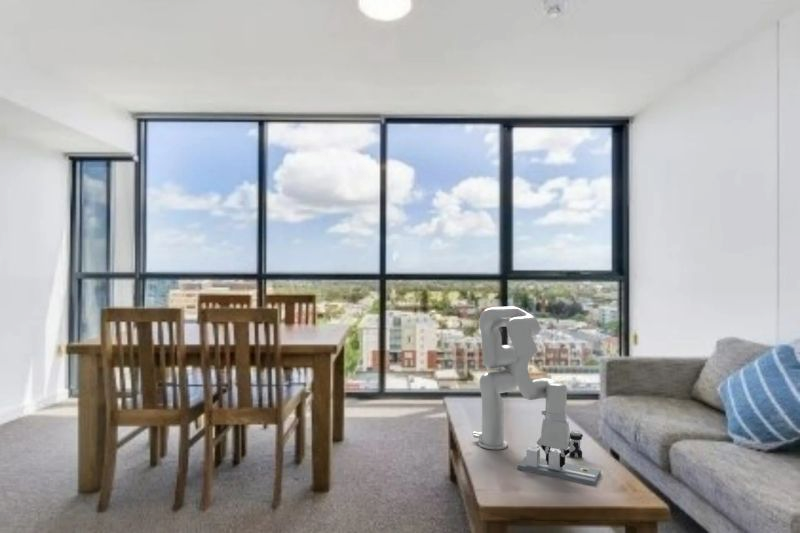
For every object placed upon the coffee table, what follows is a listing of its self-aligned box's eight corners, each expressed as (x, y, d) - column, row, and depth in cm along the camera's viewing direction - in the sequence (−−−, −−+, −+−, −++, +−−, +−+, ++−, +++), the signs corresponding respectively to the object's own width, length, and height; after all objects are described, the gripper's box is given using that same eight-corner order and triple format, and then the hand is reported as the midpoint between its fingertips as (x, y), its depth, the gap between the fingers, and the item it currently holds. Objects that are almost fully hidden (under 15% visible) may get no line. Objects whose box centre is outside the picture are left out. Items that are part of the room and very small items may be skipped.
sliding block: (548, 468, 193) (548, 452, 193) (553, 462, 199) (553, 446, 199) (559, 471, 191) (559, 454, 191) (564, 464, 197) (564, 448, 197)
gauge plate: (517, 468, 197) (517, 449, 197) (526, 458, 208) (527, 440, 208) (594, 485, 183) (594, 464, 183) (600, 473, 193) (600, 453, 193)
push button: (566, 458, 209) (567, 433, 209) (564, 453, 214) (564, 429, 214) (583, 459, 208) (584, 434, 208) (580, 454, 213) (581, 430, 213)
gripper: (530, 415, 194) (530, 463, 194) (576, 422, 186) (576, 473, 186) (536, 410, 201) (536, 457, 201) (581, 417, 192) (580, 466, 192)
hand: (555, 464), depth 193 cm, fingers closed on sliding block, 4 cm apart
